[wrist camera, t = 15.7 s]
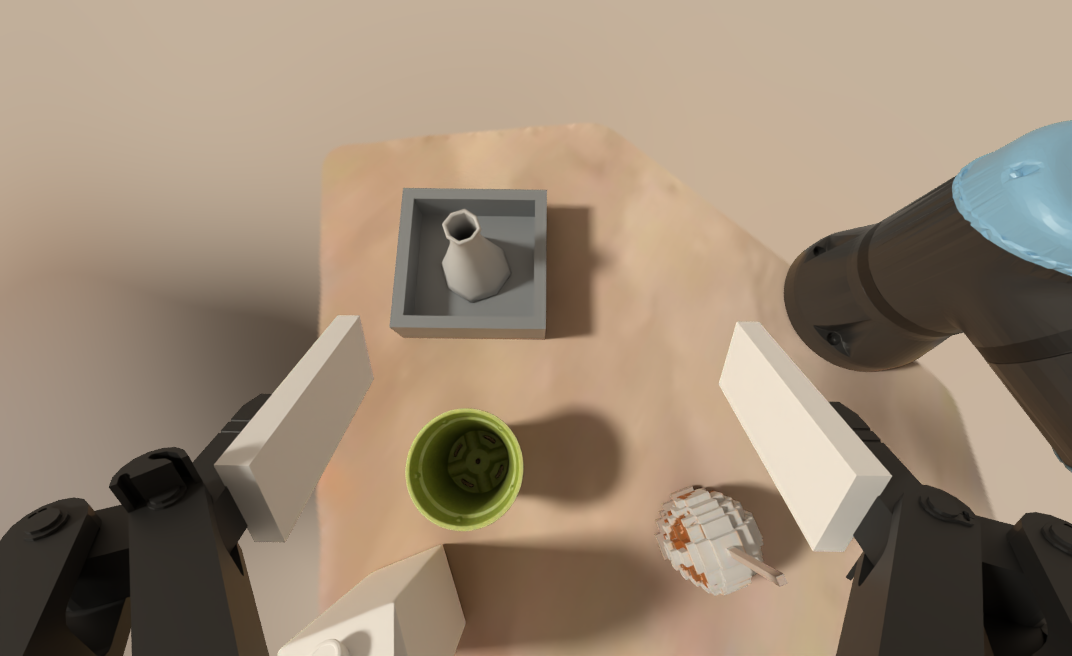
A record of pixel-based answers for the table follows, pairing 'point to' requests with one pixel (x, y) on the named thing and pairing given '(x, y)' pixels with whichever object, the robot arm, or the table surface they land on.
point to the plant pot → (464, 469)
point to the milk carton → (390, 614)
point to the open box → (423, 246)
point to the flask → (472, 259)
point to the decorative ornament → (712, 541)
